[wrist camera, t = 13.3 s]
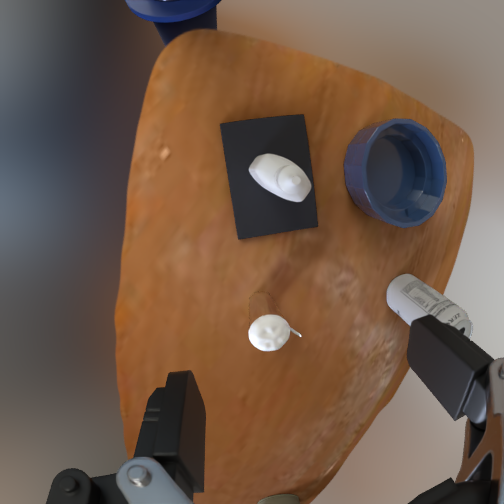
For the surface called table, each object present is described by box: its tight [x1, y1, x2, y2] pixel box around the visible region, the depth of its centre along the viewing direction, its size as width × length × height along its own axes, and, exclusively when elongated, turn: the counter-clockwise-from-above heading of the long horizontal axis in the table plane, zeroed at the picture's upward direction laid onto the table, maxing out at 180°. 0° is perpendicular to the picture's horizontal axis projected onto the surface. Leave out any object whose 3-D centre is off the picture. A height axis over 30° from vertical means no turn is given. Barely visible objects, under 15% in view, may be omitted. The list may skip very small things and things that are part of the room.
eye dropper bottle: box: [249, 154, 311, 202], centre depth 28 cm, size 4×6×12 cm
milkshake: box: [249, 291, 301, 351], centre depth 34 cm, size 4×5×10 cm
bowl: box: [344, 119, 447, 228], centre depth 33 cm, size 13×13×6 cm
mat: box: [220, 114, 318, 239], centre depth 34 cm, size 14×10×1 cm
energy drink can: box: [387, 274, 473, 339], centre depth 33 cm, size 6×6×15 cm
